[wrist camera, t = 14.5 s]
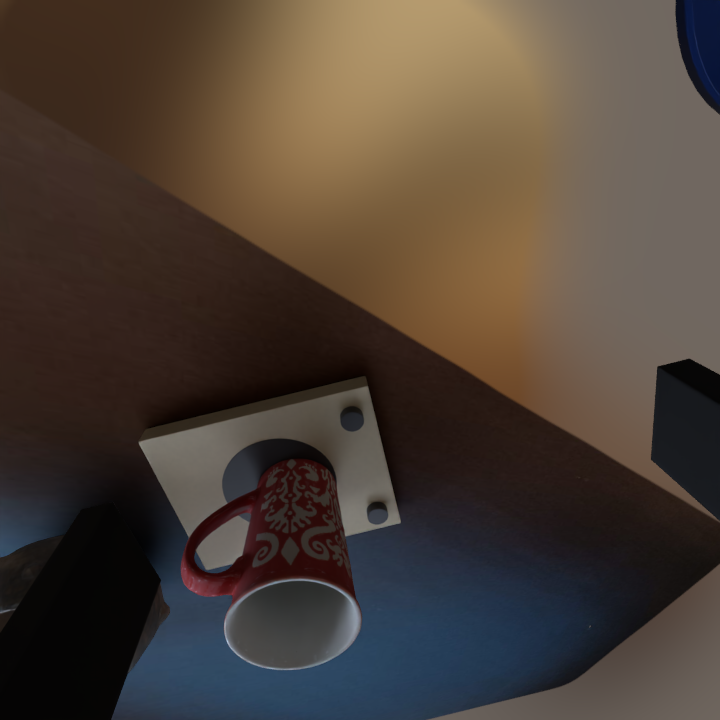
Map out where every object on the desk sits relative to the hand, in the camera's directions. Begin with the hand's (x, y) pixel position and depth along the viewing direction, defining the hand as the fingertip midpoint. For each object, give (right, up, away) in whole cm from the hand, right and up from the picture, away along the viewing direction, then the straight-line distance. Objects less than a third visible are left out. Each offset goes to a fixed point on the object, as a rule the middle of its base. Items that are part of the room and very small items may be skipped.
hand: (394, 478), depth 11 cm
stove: (-8, -8, +32) cm, 34 cm away
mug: (-8, -8, +30) cm, 32 cm away
